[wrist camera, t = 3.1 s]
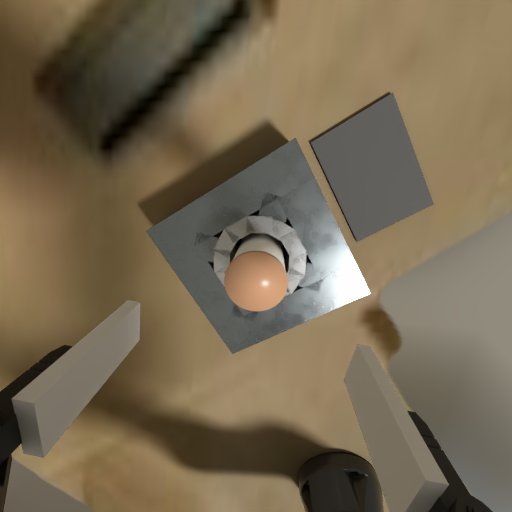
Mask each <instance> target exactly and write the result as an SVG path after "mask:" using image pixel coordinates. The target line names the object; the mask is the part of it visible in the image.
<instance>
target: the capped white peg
mask: <svg viewBox="0 0 512 512" xmlns="http://www.w3.org/2000/svg"><path fill="white" fill-rule="evenodd" d="M224 286H225V290H226V292H227V294H228V296H229V298H230V299H231V300H232V301H233V302H234V303H235V304H236V305H238V306H239V307H241V308H243V309H246V310H249V311H265V310H268V309H271V308H273V307H274V306H276V305H277V304H278V303H279V302H281V300H282V299H283V298H284V296H285V294H286V291H287V287H288V278H287V273H286V270H285V264H284V256H283V249H282V244H281V242H280V240H278V239H276V238H275V237H273V236H271V235H269V234H268V233H251V234H249V235H247V236H245V237H244V239H243V240H242V242H241V244H240V246H239V248H238V250H237V252H236V254H235V256H234V258H233V260H232V261H231V263H230V264H229V266H228V268H227V270H226V273H225V277H224Z"/></svg>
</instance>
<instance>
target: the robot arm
mask: <svg viewBox="0 0 512 512" xmlns="http://www.w3.org/2000/svg"><path fill="white" fill-rule="evenodd" d="M139 340H140V302H135V301H130V300H127V301H126V302H125V303H124V304H122V305H121V306H120V307H119V308H118V309H117V310H115V311H114V312H113V313H112V314H111V315H110V316H108V317H107V318H106V319H105V320H104V321H102V322H101V323H100V324H99V325H98V326H97V327H95V328H94V329H93V330H92V331H91V332H90V333H88V334H87V335H86V336H85V337H84V338H82V339H81V340H80V341H79V342H78V343H77V344H75V345H74V346H73V347H72V346H67V345H64V346H62V347H60V348H58V349H56V350H54V351H52V352H50V353H49V354H47V355H46V356H45V357H44V358H42V359H41V360H40V361H39V363H36V364H35V365H33V366H32V367H31V368H30V370H27V371H26V372H25V373H23V374H22V375H21V376H20V377H18V378H17V379H16V380H14V381H13V382H12V383H11V384H9V385H8V386H7V387H6V388H4V389H3V390H2V391H1V392H0V512H3V509H4V504H5V498H6V491H7V486H8V480H9V474H10V468H11V462H12V456H11V453H12V452H13V451H14V450H15V449H16V448H17V447H18V446H19V445H20V444H22V449H23V453H24V454H28V455H33V456H38V457H43V458H44V457H45V456H46V454H47V453H48V452H49V451H50V449H51V448H52V447H53V446H54V444H55V443H56V442H57V441H58V440H59V438H60V437H61V436H62V435H63V433H64V432H65V431H66V430H67V429H68V427H69V426H70V425H71V424H72V422H73V421H74V420H75V419H76V418H77V416H78V415H79V414H80V413H81V411H82V410H83V409H84V408H85V406H86V405H87V404H88V403H89V402H90V400H91V399H92V398H93V397H94V395H95V394H96V393H97V392H98V391H99V389H100V388H101V387H102V386H103V384H104V383H105V382H106V381H107V380H108V378H109V377H110V376H111V375H112V373H113V372H114V371H115V370H116V368H117V367H118V366H119V365H120V364H121V362H122V361H123V360H124V359H125V357H126V356H127V355H128V354H129V353H130V351H131V350H132V349H133V348H134V346H135V345H136V344H137V343H138V342H139ZM344 382H345V385H346V387H347V390H348V393H349V396H350V399H351V402H352V405H353V408H354V410H355V413H356V416H357V419H358V422H359V425H360V428H361V431H362V433H363V436H364V439H365V442H366V445H367V448H368V451H369V454H370V456H371V459H372V462H373V465H374V468H375V469H374V468H373V467H372V466H371V465H370V464H369V463H368V462H367V461H365V460H364V459H362V458H360V457H357V456H354V455H351V454H345V453H329V454H323V455H320V456H317V457H315V458H313V459H311V460H309V461H308V462H307V463H306V464H304V466H303V467H302V468H301V470H300V472H299V477H298V479H299V491H300V496H301V499H302V502H303V505H304V508H305V511H306V512H384V511H383V499H382V491H383V494H384V497H385V500H386V502H387V505H388V508H389V511H390V512H492V511H491V510H490V509H489V508H488V507H487V506H486V505H484V503H482V502H481V501H479V500H478V499H476V498H475V497H473V496H471V495H470V493H469V492H468V490H467V489H466V487H465V485H464V484H463V482H462V481H461V479H460V477H459V476H458V474H457V473H456V471H455V469H454V468H453V466H452V465H451V463H450V461H449V460H448V458H447V456H446V455H445V453H444V452H443V450H441V447H440V445H439V444H438V442H437V440H436V439H434V435H433V434H432V432H431V431H430V429H429V427H428V426H427V424H426V423H425V422H424V421H423V420H422V419H421V418H420V417H419V416H418V415H417V414H416V413H415V412H410V411H407V410H406V408H405V407H404V405H403V403H402V401H401V400H400V398H399V396H398V394H397V393H396V391H395V389H394V387H393V386H392V384H391V382H390V380H389V379H388V377H387V375H386V373H385V372H384V370H383V368H382V366H381V365H380V363H379V361H378V359H377V358H376V356H375V354H374V352H373V351H372V349H371V347H369V346H364V345H359V344H357V347H356V349H355V352H354V355H353V357H352V360H351V362H350V365H349V368H348V370H347V373H346V375H345V378H344ZM378 479H379V480H378ZM381 488H382V489H381Z"/></svg>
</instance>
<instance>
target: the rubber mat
mask: <svg viewBox="0 0 512 512" xmlns="http://www.w3.org/2000/svg"><path fill="white" fill-rule="evenodd" d="M311 146H312V148H313V150H314V152H315V154H316V156H317V158H318V160H319V163H320V165H321V167H322V169H323V171H324V173H325V175H326V177H327V180H328V182H329V184H330V186H331V188H332V190H333V192H334V194H335V197H336V199H337V201H338V203H339V205H340V207H341V209H342V212H343V214H344V216H345V218H346V220H347V222H348V224H349V226H350V229H351V231H352V233H353V235H354V237H355V239H356V241H360V240H362V239H364V238H366V237H368V236H370V235H372V234H374V233H376V232H378V231H380V230H382V229H384V228H386V227H388V226H390V225H392V224H394V223H396V222H398V221H400V220H402V219H404V218H406V217H408V216H410V215H412V214H414V213H416V212H418V211H420V210H423V209H425V208H427V207H429V206H431V205H433V201H432V199H431V196H430V193H429V190H428V188H427V185H426V182H425V179H424V177H423V174H422V171H421V168H420V166H419V163H418V160H417V157H416V155H415V152H414V149H413V146H412V144H411V141H410V138H409V135H408V133H407V130H406V127H405V125H404V122H403V119H402V116H401V114H400V111H399V108H398V105H397V103H396V100H395V97H394V94H393V93H391V94H390V95H388V96H387V97H385V98H383V99H382V100H380V101H378V102H377V103H375V104H373V105H372V106H370V107H369V108H367V109H365V110H364V111H362V112H360V113H359V114H357V115H355V116H354V117H352V118H350V119H349V120H347V121H346V122H344V123H342V124H341V125H339V126H337V127H336V128H334V129H332V130H331V131H329V132H328V133H326V134H324V135H323V136H321V137H319V138H318V139H316V140H314V141H313V142H311Z"/></svg>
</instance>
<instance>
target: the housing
mask: <svg viewBox="0 0 512 512" xmlns="http://www.w3.org/2000/svg"><path fill="white" fill-rule="evenodd" d="M259 209H260V211H258V210H259ZM287 217H288V219H289V220H287ZM146 232H147V233H148V235H149V236H150V238H151V239H152V240H153V242H154V243H155V245H156V246H157V247H158V249H159V250H160V252H161V253H162V255H163V256H164V257H165V259H166V260H167V262H168V263H169V264H170V266H171V267H172V269H173V270H174V272H175V273H176V274H177V276H178V277H179V279H180V280H181V282H182V283H183V284H184V286H185V287H186V289H187V290H188V291H189V293H190V294H191V296H192V297H193V299H194V300H195V301H196V303H197V304H198V306H199V307H200V308H201V310H202V311H203V313H204V314H205V316H206V317H207V318H208V320H209V321H210V323H211V324H212V325H213V327H214V328H215V330H216V331H217V333H218V334H219V335H220V337H221V338H222V340H223V341H224V343H225V344H226V345H227V347H228V348H229V350H230V351H231V352H232V354H234V353H236V352H238V351H240V350H243V349H245V348H247V347H250V346H252V345H254V344H256V343H259V342H261V341H263V340H265V339H268V338H270V337H272V336H275V335H277V334H279V333H281V332H284V331H286V330H288V329H291V328H293V327H295V326H297V325H300V324H302V323H304V322H307V321H309V320H311V319H313V318H316V317H318V316H320V315H322V314H325V313H327V312H329V311H332V310H334V309H336V308H338V307H341V306H343V305H345V304H348V303H350V302H352V301H354V300H357V299H359V298H361V297H364V296H366V295H368V294H370V291H369V289H368V287H367V285H366V283H365V281H364V279H363V277H362V274H361V272H360V270H359V268H358V266H357V264H356V262H355V260H354V258H353V256H352V254H351V252H350V250H349V248H348V245H347V243H346V241H345V239H344V237H343V235H342V233H341V231H340V229H339V227H338V225H337V223H336V221H335V218H334V216H333V214H332V212H331V210H330V208H329V206H328V204H327V202H326V200H325V198H324V196H323V194H322V192H321V189H320V187H319V185H318V183H317V181H316V179H315V177H314V175H313V173H312V171H311V169H310V167H309V165H308V163H307V160H306V158H305V156H304V154H303V152H302V150H301V148H300V146H299V144H298V142H297V140H296V138H294V139H293V140H291V141H289V142H288V143H286V144H285V145H283V146H281V147H280V148H278V149H277V150H275V151H273V152H272V153H270V154H269V155H267V156H265V157H264V158H262V159H261V160H259V161H257V162H256V163H254V164H253V165H251V166H249V167H248V168H246V169H245V170H243V171H241V172H240V173H238V174H236V175H235V176H233V177H232V178H230V179H228V180H227V181H225V182H224V183H222V184H220V185H219V186H217V187H216V188H214V189H212V190H211V191H209V192H208V193H206V194H204V195H203V196H201V197H200V198H198V199H196V200H195V201H193V202H192V203H190V204H188V205H187V206H185V207H184V208H182V209H180V210H179V211H177V212H176V213H174V214H172V215H171V216H169V217H168V218H166V219H164V220H163V221H161V222H160V223H158V224H156V225H155V226H153V227H152V228H150V229H148V230H147V231H146ZM251 233H268V234H269V235H271V236H273V237H275V238H276V239H278V240H280V241H281V242H282V243H283V245H284V247H285V248H286V250H287V258H286V259H285V261H284V264H285V270H286V273H287V278H288V287H287V291H286V294H285V296H284V298H283V299H282V300H281V302H279V303H278V304H277V305H276V306H274V307H273V308H271V309H268V310H265V311H249V310H246V309H243V308H241V307H239V306H238V305H236V304H235V303H234V302H233V301H232V300H231V299H230V298H229V296H228V294H227V292H226V290H225V286H224V277H225V273H226V270H227V268H228V266H229V264H230V263H231V261H232V260H233V258H234V256H235V254H236V242H237V241H238V240H240V239H242V238H243V237H245V236H247V235H249V234H251Z"/></svg>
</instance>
